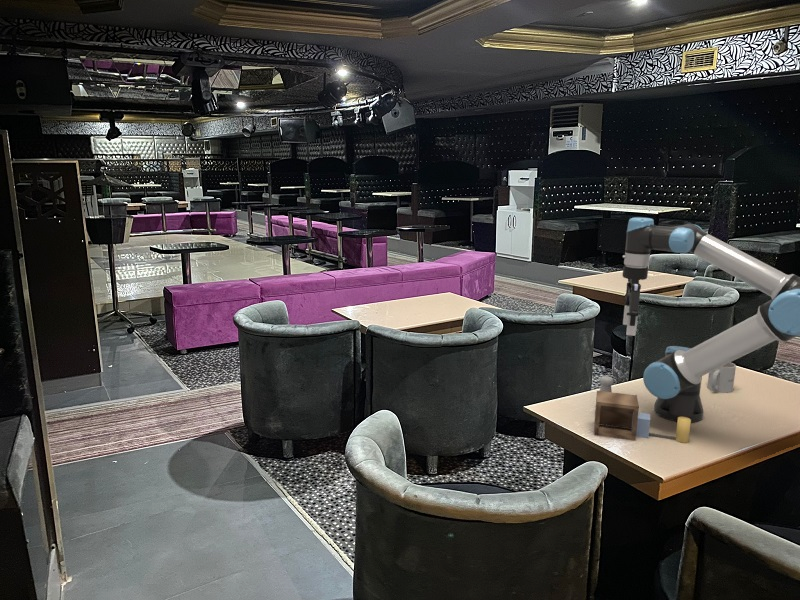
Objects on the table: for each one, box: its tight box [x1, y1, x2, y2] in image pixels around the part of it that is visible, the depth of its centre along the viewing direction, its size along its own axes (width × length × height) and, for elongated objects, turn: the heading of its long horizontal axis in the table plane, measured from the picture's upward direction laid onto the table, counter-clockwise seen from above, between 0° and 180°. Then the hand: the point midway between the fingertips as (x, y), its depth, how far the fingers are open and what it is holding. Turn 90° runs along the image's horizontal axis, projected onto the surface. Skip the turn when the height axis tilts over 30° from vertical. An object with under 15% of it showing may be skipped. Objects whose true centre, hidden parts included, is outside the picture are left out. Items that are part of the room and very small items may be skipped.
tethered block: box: [630, 411, 692, 444], centre depth 182 cm, size 16×5×7 cm, turn 67°
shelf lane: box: [593, 390, 640, 441], centre depth 186 cm, size 12×10×11 cm
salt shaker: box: [594, 375, 614, 408], centre depth 200 cm, size 6×6×13 cm
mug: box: [706, 362, 737, 394], centre depth 223 cm, size 12×9×10 cm
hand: (628, 329), depth 195 cm, fingers open, 13 cm apart
